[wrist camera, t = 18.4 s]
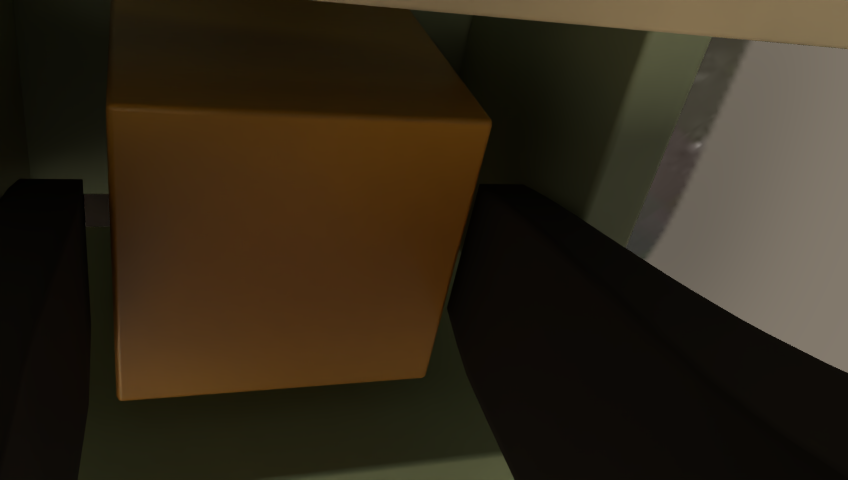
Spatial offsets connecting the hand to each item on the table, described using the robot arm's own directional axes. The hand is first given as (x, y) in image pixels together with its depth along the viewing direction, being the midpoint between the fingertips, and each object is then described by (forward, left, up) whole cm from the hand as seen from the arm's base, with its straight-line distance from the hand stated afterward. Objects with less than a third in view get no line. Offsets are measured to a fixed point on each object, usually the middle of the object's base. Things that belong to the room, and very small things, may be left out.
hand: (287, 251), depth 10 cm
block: (0, 0, -4) cm, 4 cm away
